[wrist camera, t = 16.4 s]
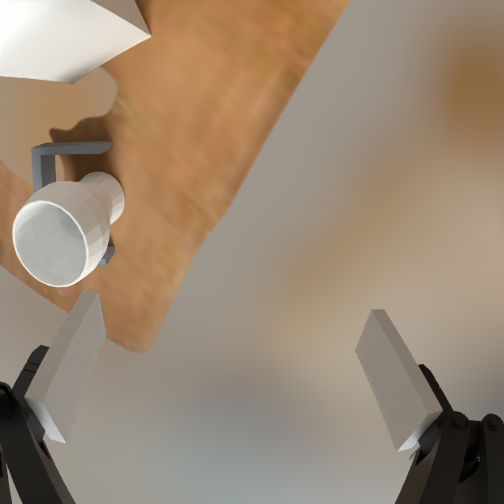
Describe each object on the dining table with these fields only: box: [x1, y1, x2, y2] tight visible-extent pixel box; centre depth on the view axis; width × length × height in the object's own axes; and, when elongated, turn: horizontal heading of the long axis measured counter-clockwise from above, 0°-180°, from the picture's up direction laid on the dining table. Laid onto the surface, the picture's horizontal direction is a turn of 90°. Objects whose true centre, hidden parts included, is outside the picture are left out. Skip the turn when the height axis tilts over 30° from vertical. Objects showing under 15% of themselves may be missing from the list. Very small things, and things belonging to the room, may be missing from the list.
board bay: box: [32, 141, 115, 266], centre depth 38 cm, size 16×10×4 cm, turn 173°
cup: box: [12, 171, 125, 287], centre depth 33 cm, size 11×11×15 cm
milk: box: [0, 0, 151, 84], centre depth 18 cm, size 12×12×26 cm
